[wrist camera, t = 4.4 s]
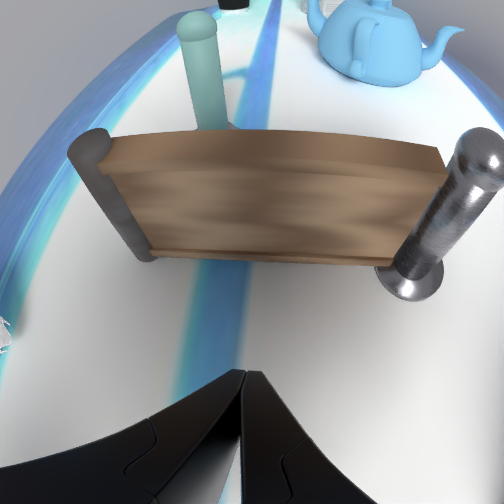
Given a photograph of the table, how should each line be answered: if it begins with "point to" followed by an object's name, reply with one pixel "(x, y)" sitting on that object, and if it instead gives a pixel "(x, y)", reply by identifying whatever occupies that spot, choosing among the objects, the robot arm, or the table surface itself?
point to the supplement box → (324, 6)
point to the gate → (260, 193)
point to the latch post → (203, 70)
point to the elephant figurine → (4, 335)
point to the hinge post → (447, 215)
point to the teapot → (374, 42)
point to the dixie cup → (233, 6)
